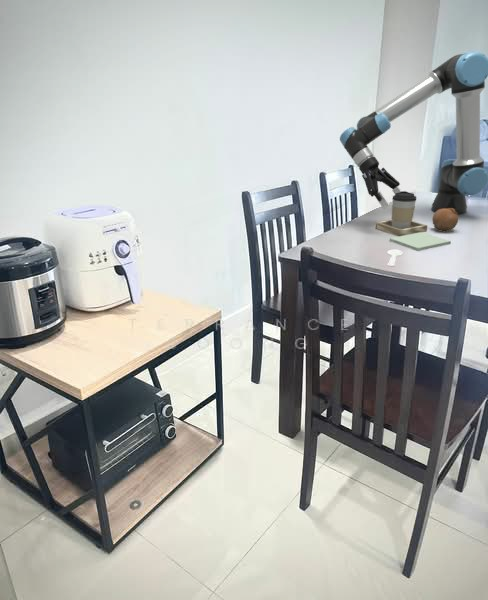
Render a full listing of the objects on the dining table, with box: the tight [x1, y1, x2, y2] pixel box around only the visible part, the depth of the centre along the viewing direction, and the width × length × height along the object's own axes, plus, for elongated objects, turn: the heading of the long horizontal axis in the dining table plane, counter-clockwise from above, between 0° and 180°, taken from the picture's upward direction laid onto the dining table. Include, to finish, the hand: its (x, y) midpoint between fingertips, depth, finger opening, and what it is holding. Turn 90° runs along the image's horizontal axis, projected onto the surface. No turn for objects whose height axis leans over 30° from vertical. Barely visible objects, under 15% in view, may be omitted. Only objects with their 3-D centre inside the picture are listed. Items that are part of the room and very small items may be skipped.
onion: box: [431, 208, 459, 232], centre depth 175 cm, size 10×9×10 cm
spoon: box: [386, 248, 404, 267], centre depth 149 cm, size 5×18×1 cm, turn 157°
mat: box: [389, 232, 452, 252], centre depth 163 cm, size 16×14×1 cm
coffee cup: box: [391, 190, 417, 229], centre depth 175 cm, size 9×9×15 cm
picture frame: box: [375, 219, 428, 237], centre depth 178 cm, size 14×14×2 cm
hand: (395, 203), depth 176 cm, fingers open, 13 cm apart
